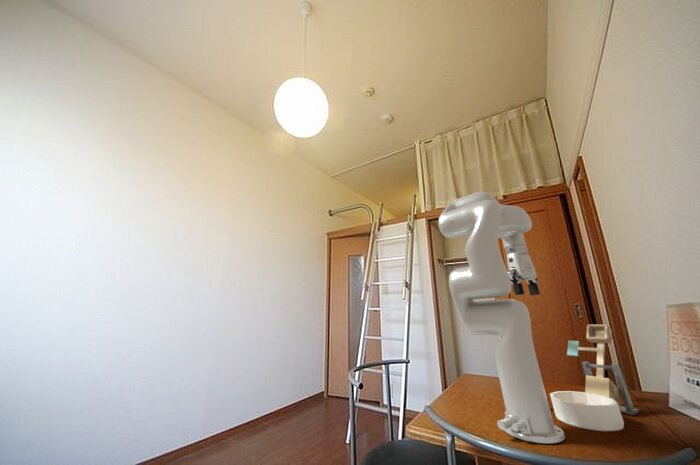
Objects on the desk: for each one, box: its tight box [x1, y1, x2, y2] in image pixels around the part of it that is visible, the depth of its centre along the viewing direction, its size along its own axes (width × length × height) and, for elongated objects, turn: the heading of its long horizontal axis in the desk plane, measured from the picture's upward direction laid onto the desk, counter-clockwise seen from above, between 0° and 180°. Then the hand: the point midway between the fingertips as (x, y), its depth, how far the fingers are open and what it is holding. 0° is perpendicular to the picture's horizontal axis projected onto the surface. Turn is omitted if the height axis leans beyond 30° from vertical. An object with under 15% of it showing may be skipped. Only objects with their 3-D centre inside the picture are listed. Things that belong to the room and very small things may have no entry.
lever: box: [566, 323, 622, 410], centre depth 81 cm, size 23×12×6 cm
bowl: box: [549, 390, 625, 432], centre depth 68 cm, size 14×14×5 cm
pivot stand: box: [581, 361, 640, 416], centre depth 76 cm, size 4×9×12 cm, turn 27°
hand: (527, 294), depth 97 cm, fingers open, 9 cm apart
